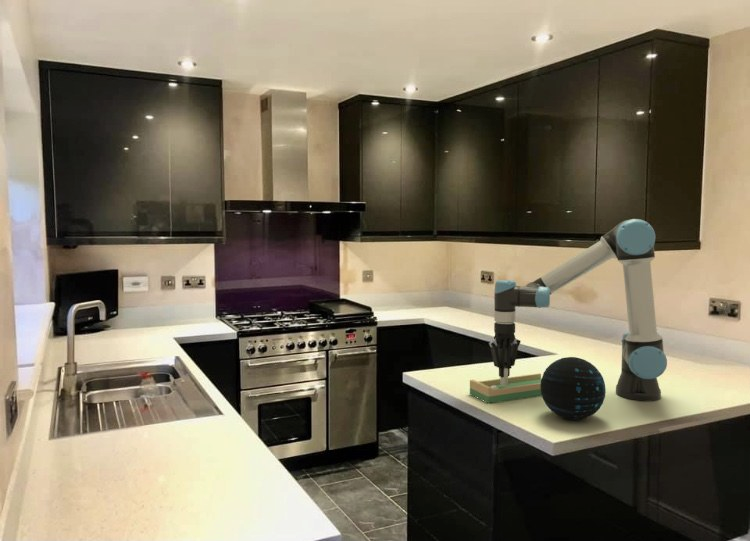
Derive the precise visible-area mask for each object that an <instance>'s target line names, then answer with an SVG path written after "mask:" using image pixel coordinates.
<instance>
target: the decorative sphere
mask: <svg viewBox="0 0 750 541" xmlns="http://www.w3.org/2000/svg"><path fill="white" fill-rule="evenodd" d="M540 388H541V394H542V395H541V397H542V400H543V402H544V404H545V405H546V406H547V407H548V409H549V410H550V411H551V412H552V413H554V414H555V415H556V416H558V417H561V419H565V420H570V421H581V420H584V419H587V418H589V417H592V416H593V415H595V414H596V413H597V412H598V411H599V410H600V409H601V408H602V406H603V405H604V401H605V398H606V393H607V392H606V390H607V389H606V384H605V379H604V376H603V375H602V373H601V372H600V370H599V369H598V368H597V367H596V366H595V365H594V364H592V363H591V362H589V361H588V360H586V359H584V358H581V357H576V356H575V357H574V356H567V357H566V356H565V357H561V358H559V359H557V360H555V361H552V362H551V363H550V364H549V365H548V366H547V367H546V368H545V370H544V371H543V373H542V375H541V385H540Z"/></svg>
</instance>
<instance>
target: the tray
mask: <svg viewBox="0 0 750 541" xmlns="http://www.w3.org/2000/svg"><path fill="white" fill-rule="evenodd" d="M541 379H542V373H540V372H538V373H531V374H524V375H517V376H508V386H502V385H500V378H494V379H486V380H479V381H478V380H477V379H476V380H475V379H470V380H469V395H470V394H472V395H474V396H476V397H478V398H480V399H482V400H484V401H486V402H488V403H489V404H491V403H490V402H495V403H500V402H499V401H502V402H507V401H506V400H508V401H513V400H514V399H515V400H521V398H522V399H527V398H533V397H542V394H541V388H540V385H541ZM491 386H497V387H498V388H499V389H493V390H492V388H491ZM472 395H471V396H472ZM474 396H473V397H474ZM476 397H475V398H476ZM478 398H477V399H478ZM480 399H479V400H480ZM482 400H481V401H482ZM515 400H514V401H515ZM484 401H483V402H484ZM486 402H485V403H486ZM488 403H487V404H488Z"/></svg>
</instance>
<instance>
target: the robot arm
mask: <svg viewBox="0 0 750 541" xmlns="http://www.w3.org/2000/svg"><path fill="white" fill-rule="evenodd" d="M655 232H656V231H655V230H654V228H653V226H652V225H651V224H650V223H649V222H647V221H645V220H644V219H640V218H632V219H631V218H630V219H625V220H622V221H620V222H619V223H618V224H617V225H616V226H614V227H613V228H612V229H611V230H610V231H608V232H606V233H605V234H603V235H601V237H600V240H599V241H598V242H595V243H594V244H593V245H591V246H589V247H588V248H586V249H584V250H582V251H581V252H579V253H577V254H576V255H575V256H572V257H571V258H569V259H568V260H566V261H565V262H563V263H561V264H559V265H558V266H556V267H555V268H553V269H551V270H550V271H548V272H546V273H544V274H543V275H542V276H541V277H538V278H537V279H536V280H534V281H531V282H529V283H527V284H526V286H525V285H524V286H521V285H517V283H516V281H515V280H513V279H500V280H496V281H495V283H494V294H493V295H494V298H493V299H494V313H493V314H494V316H493V317H494V323H493V325H494V327H493V328H494V337H493V340H492V341H489V342H488V343H487V344H488V346H489V348H490V352H491V356H492V362H493V365H494V367H496V368H498V378H499V377H500V378H499V379H500V385H502V386H508V377H510V375H511V374H510V373H511V369H512V367H514V366H515V365H516V360H517V354H518V349H519V346H520V345H521V342H522V341H521V340H520V339H518V338H516V335H515V333H516V323H515V322H516V308H517V307H518V308H519V307H521V308H523V307H524V308H539V309H541V308H549V307H550V303H551V302H550V301H551V299H550V298H551V297H550V296H551V295H552V294H554V293H555V292H558V291H559V290H560V289H563V288H564V287H565V286H567V285H569V284H570V283H572V282H574V281H576V280H577V279H579V278H581V277H583V275H586V274H588V273H589V272H591V271H593V270H594V269H596V268H598V267H599V266H601V265H602V264H604V263H606V262H607V261H609V260H611V259H617V261H618V262H619V263H620V264H621V265H622V269H623V272H622V273H623V279H624V280H623V281H624V291H625V301H626V312H627V320H628V322H627V323H628V332H625V333H623V334H622V338H621V343H622V344H621V345H622V346H621V372H620V376H619V377H618V381H617V383H616V386H615V394H616V395H617V396H619V397H622V398H625V399H629V400H634V401H635V400H636V401H643V402H647V401H649V402H650V401H657V400H660V399H661V398H662V390H661V389H660V384H659V381H658V378H659V377H660V376H661V375H663V373H664V372H665V371H666V369H667V366H668V358H667V355H666V354H665V351H664V341H663V336H662V335H661V334H659V333H658V331H657V330H658V329H657V318H656V310H655V299H654V287H653V278H652V265H651V264H652V261H654V259H655V257H656V256H655V255H656V254H655V243H656V238H657V237H656V233H655Z"/></svg>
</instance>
